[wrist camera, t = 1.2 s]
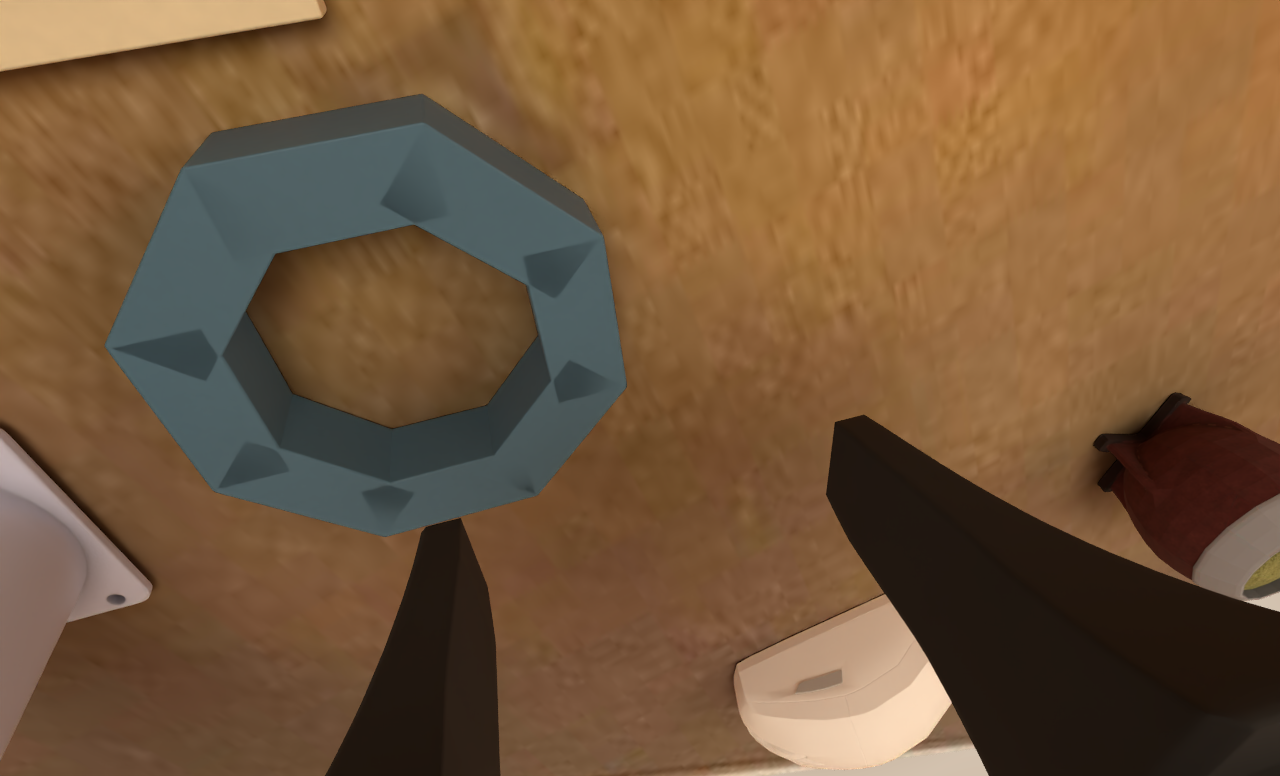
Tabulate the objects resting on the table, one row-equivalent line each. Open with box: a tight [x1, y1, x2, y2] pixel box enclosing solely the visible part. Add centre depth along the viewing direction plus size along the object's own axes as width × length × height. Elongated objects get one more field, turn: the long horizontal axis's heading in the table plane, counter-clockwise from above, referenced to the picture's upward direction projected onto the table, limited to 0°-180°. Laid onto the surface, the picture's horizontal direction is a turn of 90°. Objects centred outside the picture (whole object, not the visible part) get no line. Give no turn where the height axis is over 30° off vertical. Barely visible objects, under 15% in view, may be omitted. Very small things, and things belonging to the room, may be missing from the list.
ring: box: [105, 94, 627, 537], centre depth 19 cm, size 12×12×3 cm
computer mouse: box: [734, 594, 952, 770], centre depth 36 cm, size 6×13×6 cm, turn 110°
